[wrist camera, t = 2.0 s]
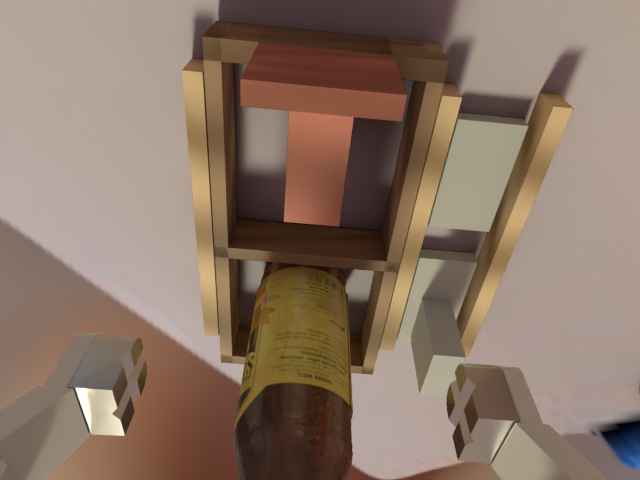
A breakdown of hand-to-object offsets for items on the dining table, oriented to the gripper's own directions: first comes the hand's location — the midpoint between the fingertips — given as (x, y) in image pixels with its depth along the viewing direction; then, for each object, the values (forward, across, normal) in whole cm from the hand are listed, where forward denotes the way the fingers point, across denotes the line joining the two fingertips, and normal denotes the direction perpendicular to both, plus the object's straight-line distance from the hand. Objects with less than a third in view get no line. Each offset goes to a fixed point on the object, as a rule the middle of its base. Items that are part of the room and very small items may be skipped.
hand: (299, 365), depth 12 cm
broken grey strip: (+17, -9, +8) cm, 21 cm away
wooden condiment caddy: (+17, 0, +7) cm, 18 cm away
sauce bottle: (+18, 0, +13) cm, 22 cm away
